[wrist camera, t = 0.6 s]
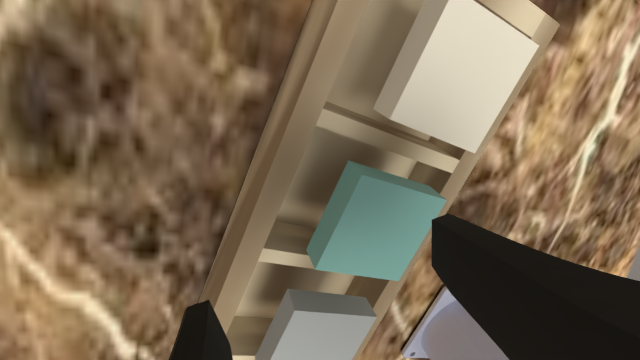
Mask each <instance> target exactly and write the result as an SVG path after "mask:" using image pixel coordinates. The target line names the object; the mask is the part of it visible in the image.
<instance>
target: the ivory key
mask: <svg viewBox="0 0 640 360" xmlns="http://www.w3.org/2000/svg"><path fill="white" fill-rule="evenodd" d="M538 47H539V45H538V44H536V43H535V42H533V41H532V40H530V39H529V38H528V37H526V36H525V35H523V34H522V33H520V32H519V31H517V30H516V29H514V28H513V27H512V26H510V25H509V24H507V23H506V22H504V21H503V20H501V19H500V18H499V17H497V16H496V15H494V14H493V13H491V12H490V11H488V10H487V9H485V8H484V7H483V6H481V5H480V4H478V3H477V2H475V1H474V0H424V2H423V5H422V7H421V9H420V11H419V13H418V15H417V17H416V19H415V21H414V24H413V26H412V28H411V30H410V32H409V34H408V36H407V38H406V40H405V42H404V45H403V47H402V49H401V51H400V53H399V55H398V57H397V59H396V61H395V63H394V66H393V68H392V70H391V72H390V74H389V76H388V78H387V80H386V82H385V85H384V87H383V89H382V91H381V93H380V95H379V97H378V99H377V101H376V103H375V106H374V108H373V109H374V110H375V111H377V112H379V113H380V114H382V115H384V116H385V117H387V118H388V119H390V120H393V121H395V122H398V123H400V124H403V125H405V126H408V127H410V128H412V129H415V130H417V131H420V132H422V133H425V134H427V135H430V136H432V137H435V138H437V139H440V140H442V141H445V142H447V143H450V144H452V145H455V146H457V147H460V148H462V149H465V150H467V151H470V152H472V153H476V151H477V149H478V148H479V146H480V144H481V142H482V141H483V139H484V137H485V136H486V134H487V132H488V131H489V129H490V127H491V126H492V124H493V122H494V121H495V119H496V117H497V116H498V114H499V112H500V111H501V109H502V107H503V106H504V104H505V102H506V101H507V99H508V97H509V96H510V94H511V92H512V91H513V89H514V87H515V86H516V84H517V82H518V81H519V79H520V77H521V76H522V74H523V72H524V70H525V69H526V67H527V65H528V64H529V62H530V60H531V59H532V57H533V55H534V54H535V52H536V50H537V49H538Z"/></svg>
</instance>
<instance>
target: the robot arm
mask: <svg viewBox="0 0 640 360" xmlns="http://www.w3.org/2000/svg"><path fill="white" fill-rule="evenodd" d="M432 267H433V268H434V270H435V271H436V273H437V274H438V276H439V277H440V279H441V280H442V282H443V283H444V285H445V287H443V289H442V290H441V292H440V293H439V295H438V296H437V298H436V299H435V301H434V302H433V304H432V305H431V307H430V308H429V310H428V311H427V313H426V315H425V316H424V318H423V319H422V321H421V322H420V324H419V325H418V327H417V328H416V330H415V331H414V333H413V334H412V336H411V338H410V339H409V341H408V342H407V344H406V345H405V347H404V348H403V350H402V355H403V357H405V358H429V359H430V360H640V281H636V280H632V279H628V278H624V277H620V276H616V275H613V274H609V273H605V272H602V271H599V270H595V269H592V268H589V267H585V266H582V265H578V264H575V263H572V262H569V261H566V260H563V259H560V258H557V257H555V256H552V255H549V254H546V253H543V252H541V251H538V250H535V249H533V248H530V247H527V246H525V245H522V244H520V243H517V242H515V241H512V240H510V239H507V238H505V237H503V236H500V235H498V234H496V233H493V232H491V231H488V230H486V229H484V228H482V227H479V226H477V225H475V224H472V223H470V222H468V221H465V220H463V219H460V218H458V217H456V216H453V215H450V214H446V215H443V216H440V217H437V218H434V219H432ZM169 360H233V357H232V352H231V346H230V343H229V341H228V338H227V336H226V334H225V332H224V330H223V328H222V326H221V324H220V322H219V320H218V317H217V315H216V313H215V311H214V309H213V307H212V305H211V303H210V301H209V300H206V301H204V302H201V303H198V304H195V305H192V306H190V307H187V309H186V310H185V312H184V316H183V319H182V322H181V326H180V329H179V332H178V335H177V338H176V341H175V344H174V347H173V350H172V352H171V355H170V358H169Z"/></svg>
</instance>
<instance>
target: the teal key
mask: <svg viewBox="0 0 640 360" xmlns="http://www.w3.org/2000/svg"><path fill="white" fill-rule="evenodd" d="M446 201H447V200H446V199H445V198H444V197H443V196H441V195H440V194H439V193H438V192H436V191H435V190H434V189H433V188H431V187H430V186H428V185H425V184H422V183H419V182H416V181H412V180H409V179H406V178H403V177H400V176H396V175H393V174H390V173H387V172H384V171H381V170H377V169H374V168H371V167H368V166H365V165H361V164H358V163H355V162H352V161H349V160H348V162H347V164H346V167H345V169H344V171H343V173H342V175H341V177H340V179H339V181H338V183H337V186H336V188H335V190H334V192H333V194H332V196H331V198H330V200H329V202H328V204H327V207H326V209H325V211H324V213H323V215H322V217H321V219H320V221H319V223H318V226H317V228H316V230H315V232H314V234H313V236H312V238H311V240H310V242H309V244H308V247H307V249H306V251H307V253H308V255H309V257H310V260H311V262H312V264H313V266H314V268H315V270H321V271H329V272H336V273H343V274H350V275H357V276H364V277H371V278H378V279H386V280H393V281H399V280H400V278H401V276H402V275H403V273H404V271H405V270H406V268H407V266H408V265H409V263H410V261H411V260H412V258H413V256H414V255H415V253H416V251H417V250H418V248H419V246H420V245H421V243H422V241H423V240H424V238H425V236H426V235H427V233H428V231H429V230H430V228H431V226H432V219H434V218H437V216H438V214H439V213H440V211H441V209H442V208H443V206H444V204H445V203H446Z"/></svg>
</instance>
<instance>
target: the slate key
mask: <svg viewBox="0 0 640 360" xmlns="http://www.w3.org/2000/svg"><path fill="white" fill-rule="evenodd" d="M376 318H377V316H376V314H375V312H374V311H373V309H372V307H371V305H370V304H369V302H368V300H367V299H366V297H360V296H351V295H342V294H333V293H323V292H314V291H305V290H296V289H287V291H286V293H285V295H284V297H283V299H282V301H281V303H280V305H279V308H278V310H277V312H276V314H275V316H274V318H273V320H272V322H271V324H270V327H269V329H268V331H267V333H266V335H265V337H264V339H263V341H262V343H261V345H260V348H259V350H258V352H257V354H256V356H255V360H352V358H353V357H354V355H355V353H356V352H357V350H358V348H359V347H360V345H361V343H362V342H363V340H364V338H365V337H366V335H367V333H368V332H369V330H370V328H371V327H372V325H373V323H374V322H375V320H376Z"/></svg>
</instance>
